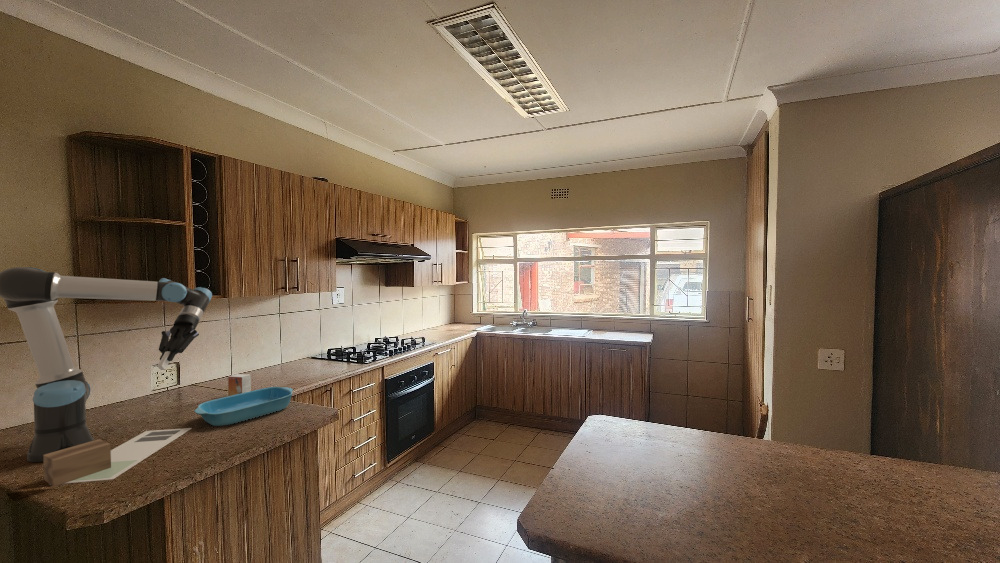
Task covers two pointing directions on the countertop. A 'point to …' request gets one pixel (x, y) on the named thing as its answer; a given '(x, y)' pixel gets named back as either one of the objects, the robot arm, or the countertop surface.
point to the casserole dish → (244, 405)
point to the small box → (239, 384)
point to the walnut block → (76, 462)
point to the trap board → (133, 453)
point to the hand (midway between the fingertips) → (161, 367)
